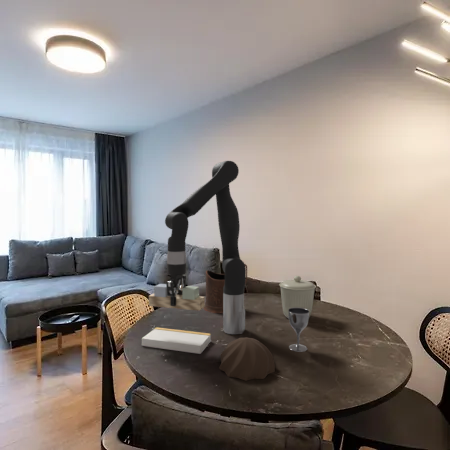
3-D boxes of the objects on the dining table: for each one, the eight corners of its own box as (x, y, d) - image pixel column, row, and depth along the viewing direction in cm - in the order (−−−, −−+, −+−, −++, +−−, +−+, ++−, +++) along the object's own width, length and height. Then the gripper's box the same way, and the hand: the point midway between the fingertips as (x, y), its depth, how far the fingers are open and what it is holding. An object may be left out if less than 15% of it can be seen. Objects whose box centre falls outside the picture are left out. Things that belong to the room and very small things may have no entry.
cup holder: (206, 302, 191) (206, 259, 190) (248, 304, 188) (248, 260, 186) (200, 312, 173) (200, 265, 171) (245, 314, 169) (245, 266, 168)
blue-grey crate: (171, 294, 135) (171, 284, 135) (165, 297, 130) (165, 287, 130) (160, 293, 137) (160, 283, 136) (154, 296, 132) (154, 286, 132)
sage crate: (199, 296, 132) (199, 286, 131) (194, 299, 127) (194, 289, 127) (187, 295, 133) (187, 285, 133) (182, 298, 128) (182, 288, 128)
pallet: (204, 306, 132) (204, 296, 131) (199, 310, 126) (199, 300, 126) (155, 301, 138) (155, 292, 138) (148, 305, 132) (148, 295, 132)
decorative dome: (236, 387, 101) (236, 355, 101) (209, 360, 119) (209, 333, 118) (286, 372, 110) (287, 343, 109) (254, 350, 128) (255, 324, 127)
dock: (210, 341, 135) (210, 333, 135) (200, 353, 123) (200, 345, 123) (156, 334, 142) (156, 327, 142) (141, 345, 130) (141, 337, 130)
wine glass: (296, 353, 124) (297, 314, 123) (283, 346, 131) (284, 309, 130) (312, 349, 127) (313, 311, 127) (299, 342, 134) (299, 306, 134)
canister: (323, 318, 163) (324, 277, 162) (297, 326, 153) (298, 281, 152) (296, 309, 178) (296, 271, 177) (271, 315, 168) (271, 274, 167)
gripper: (177, 265, 123) (177, 309, 124) (192, 259, 137) (192, 299, 138) (159, 264, 125) (159, 308, 126) (175, 258, 139) (175, 298, 140)
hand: (176, 303), depth 132 cm, fingers closed on pallet, 5 cm apart
